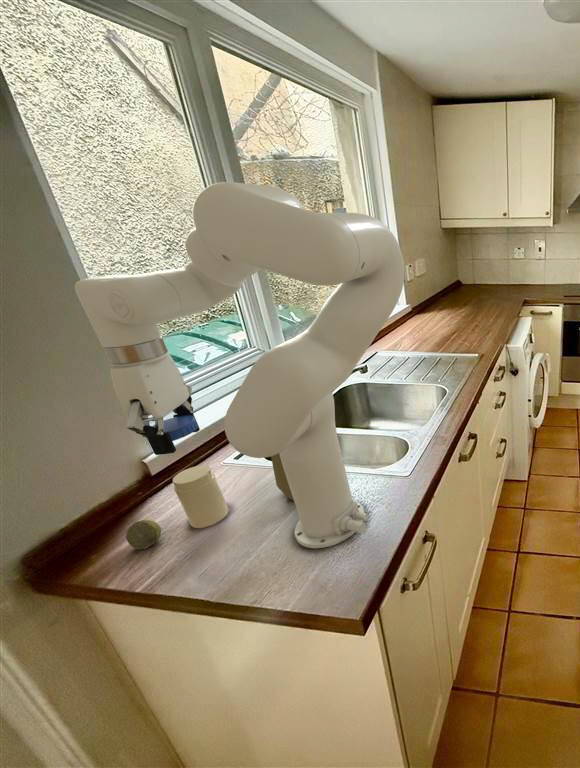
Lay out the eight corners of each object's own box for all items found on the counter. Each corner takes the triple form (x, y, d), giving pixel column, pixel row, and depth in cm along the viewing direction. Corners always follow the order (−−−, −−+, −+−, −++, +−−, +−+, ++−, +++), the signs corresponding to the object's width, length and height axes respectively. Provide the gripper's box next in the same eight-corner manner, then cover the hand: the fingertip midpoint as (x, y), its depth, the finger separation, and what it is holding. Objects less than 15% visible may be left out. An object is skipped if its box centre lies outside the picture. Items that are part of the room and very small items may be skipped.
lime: (166, 542, 74) (155, 521, 72) (132, 557, 71) (120, 536, 69) (163, 530, 77) (153, 510, 75) (131, 544, 74) (119, 523, 72)
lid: (142, 441, 70) (137, 432, 70) (182, 422, 76) (178, 413, 76) (166, 445, 68) (161, 436, 67) (206, 425, 74) (202, 417, 73)
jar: (235, 509, 82) (219, 467, 78) (205, 531, 76) (185, 487, 72) (214, 503, 84) (197, 462, 80) (183, 524, 78) (162, 481, 74)
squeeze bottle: (305, 505, 82) (282, 431, 75) (272, 501, 84) (246, 428, 76) (329, 482, 89) (310, 412, 82) (298, 478, 91) (277, 410, 84)
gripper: (147, 339, 73) (184, 423, 80) (68, 372, 57) (122, 472, 64) (191, 335, 74) (224, 418, 81) (125, 366, 58) (172, 465, 65)
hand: (178, 441), depth 73 cm, fingers closed on lid, 6 cm apart
